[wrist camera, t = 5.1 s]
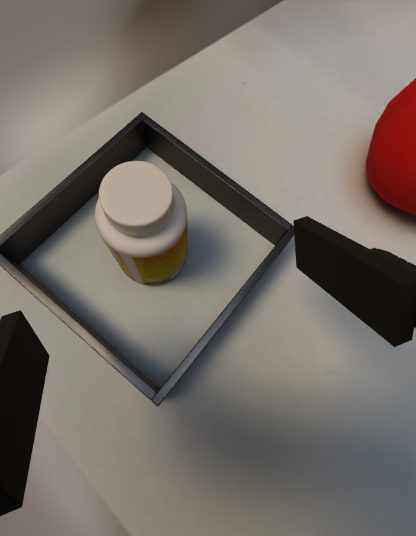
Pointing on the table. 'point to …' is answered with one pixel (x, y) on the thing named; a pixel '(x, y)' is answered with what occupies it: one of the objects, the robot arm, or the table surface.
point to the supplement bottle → (143, 221)
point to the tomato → (395, 152)
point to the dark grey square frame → (87, 185)
